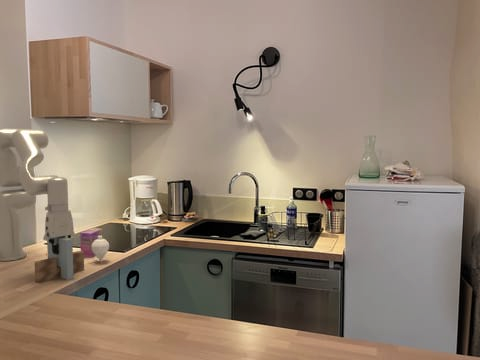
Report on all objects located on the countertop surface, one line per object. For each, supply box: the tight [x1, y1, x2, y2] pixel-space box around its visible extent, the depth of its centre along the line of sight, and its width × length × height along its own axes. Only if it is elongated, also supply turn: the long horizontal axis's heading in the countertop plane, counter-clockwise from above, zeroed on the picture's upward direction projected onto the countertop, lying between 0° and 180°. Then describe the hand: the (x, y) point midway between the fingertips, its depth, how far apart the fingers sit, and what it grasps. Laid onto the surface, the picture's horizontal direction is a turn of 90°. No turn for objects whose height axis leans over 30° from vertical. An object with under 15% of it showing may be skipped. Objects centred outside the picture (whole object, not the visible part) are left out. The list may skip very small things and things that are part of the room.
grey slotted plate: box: [46, 237, 74, 281], centre depth 171 cm, size 14×2×16 cm, turn 55°
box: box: [79, 227, 103, 259], centre depth 202 cm, size 10×6×12 cm, turn 168°
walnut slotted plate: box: [34, 250, 85, 284], centre depth 171 cm, size 20×2×8 cm, turn 144°
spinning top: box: [91, 235, 110, 263], centre depth 190 cm, size 8×8×12 cm
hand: (59, 252), depth 171 cm, fingers open, 3 cm apart
